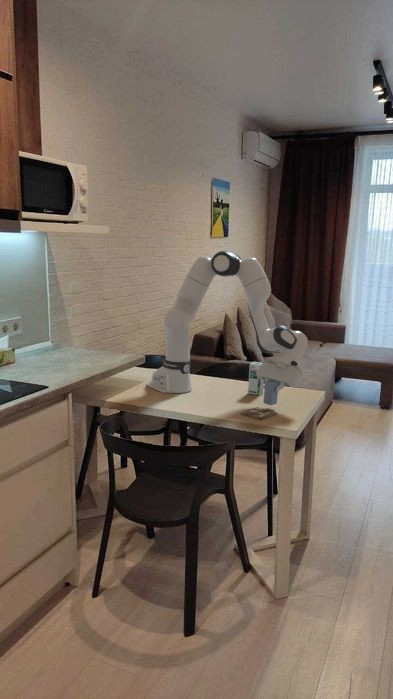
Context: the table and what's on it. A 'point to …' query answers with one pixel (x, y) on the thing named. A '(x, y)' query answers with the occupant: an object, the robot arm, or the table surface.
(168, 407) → the table surface
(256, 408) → the letter card
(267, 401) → the slate block
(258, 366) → the syrup box
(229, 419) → the table surface
